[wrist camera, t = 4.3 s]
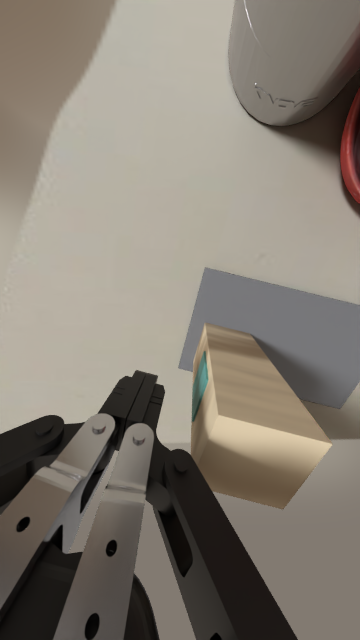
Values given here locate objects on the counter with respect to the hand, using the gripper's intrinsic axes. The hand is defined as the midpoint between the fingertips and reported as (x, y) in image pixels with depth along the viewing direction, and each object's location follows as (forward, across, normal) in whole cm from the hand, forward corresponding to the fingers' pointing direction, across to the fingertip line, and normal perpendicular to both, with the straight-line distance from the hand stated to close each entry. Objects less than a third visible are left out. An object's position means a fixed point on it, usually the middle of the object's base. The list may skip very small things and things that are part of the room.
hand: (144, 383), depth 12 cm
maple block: (+8, -6, 0) cm, 11 cm away
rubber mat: (+9, -12, -2) cm, 15 cm away
